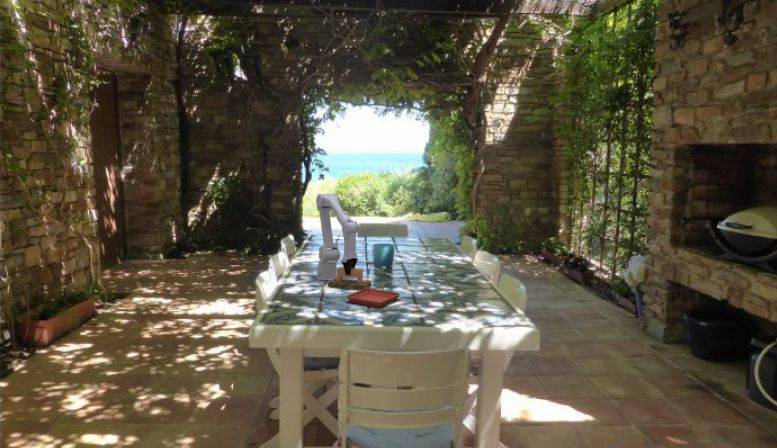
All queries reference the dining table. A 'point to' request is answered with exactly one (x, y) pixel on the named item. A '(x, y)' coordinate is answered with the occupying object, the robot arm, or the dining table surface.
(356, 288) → the brown flat slab
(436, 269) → the dining table surface
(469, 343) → the dining table surface
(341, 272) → the tan stepped block
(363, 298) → the plant saucer
